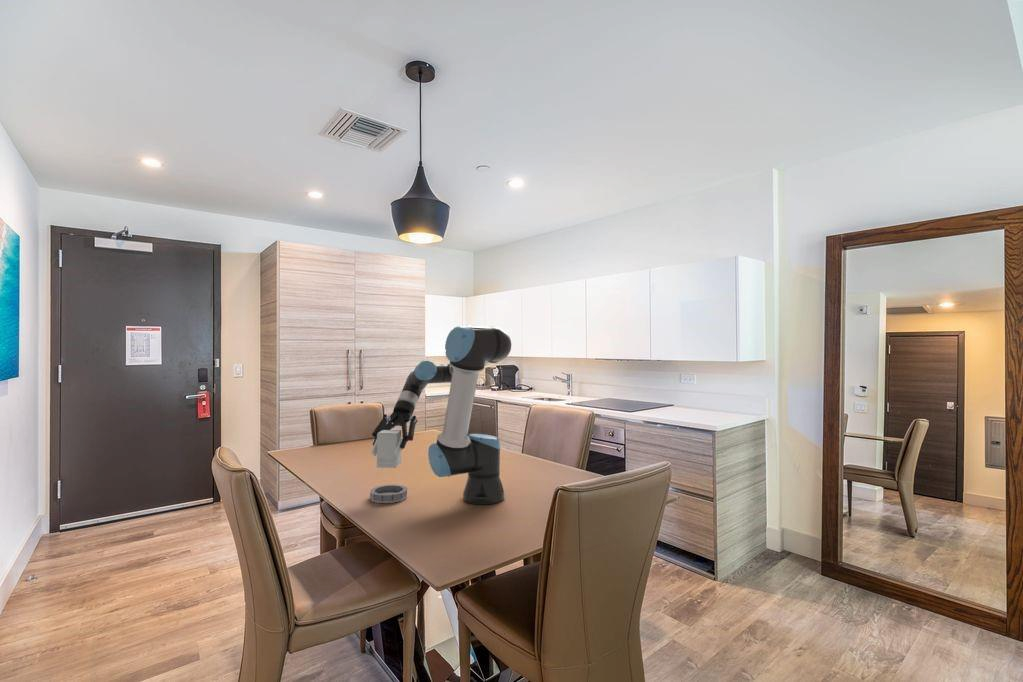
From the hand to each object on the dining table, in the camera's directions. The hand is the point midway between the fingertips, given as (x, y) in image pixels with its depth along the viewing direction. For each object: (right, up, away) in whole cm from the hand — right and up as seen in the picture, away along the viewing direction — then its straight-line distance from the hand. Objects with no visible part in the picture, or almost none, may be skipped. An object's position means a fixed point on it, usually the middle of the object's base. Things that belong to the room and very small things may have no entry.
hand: (384, 454), depth 173 cm
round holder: (+1, -17, +3) cm, 17 cm away
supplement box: (+1, -5, +3) cm, 6 cm away
